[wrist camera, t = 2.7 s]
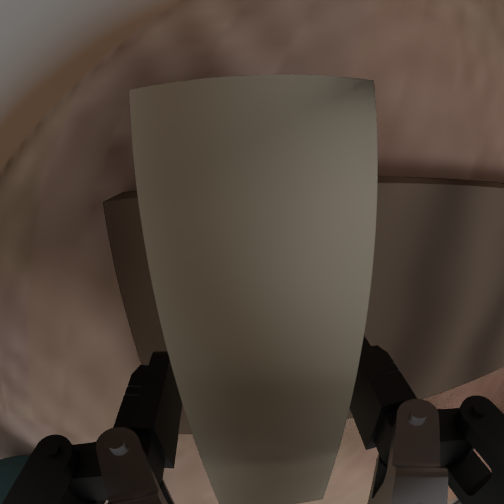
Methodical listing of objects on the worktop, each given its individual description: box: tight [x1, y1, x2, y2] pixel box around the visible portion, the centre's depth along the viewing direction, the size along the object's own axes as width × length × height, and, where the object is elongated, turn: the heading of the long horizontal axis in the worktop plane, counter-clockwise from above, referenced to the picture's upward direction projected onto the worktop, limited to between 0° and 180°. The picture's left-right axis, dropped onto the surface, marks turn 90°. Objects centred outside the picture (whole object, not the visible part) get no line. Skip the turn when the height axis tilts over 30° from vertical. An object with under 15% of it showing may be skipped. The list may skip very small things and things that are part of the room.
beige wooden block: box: [129, 75, 378, 504], centre depth 10 cm, size 4×14×6 cm, turn 3°
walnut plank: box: [103, 176, 504, 434], centre depth 13 cm, size 26×12×2 cm, turn 93°
